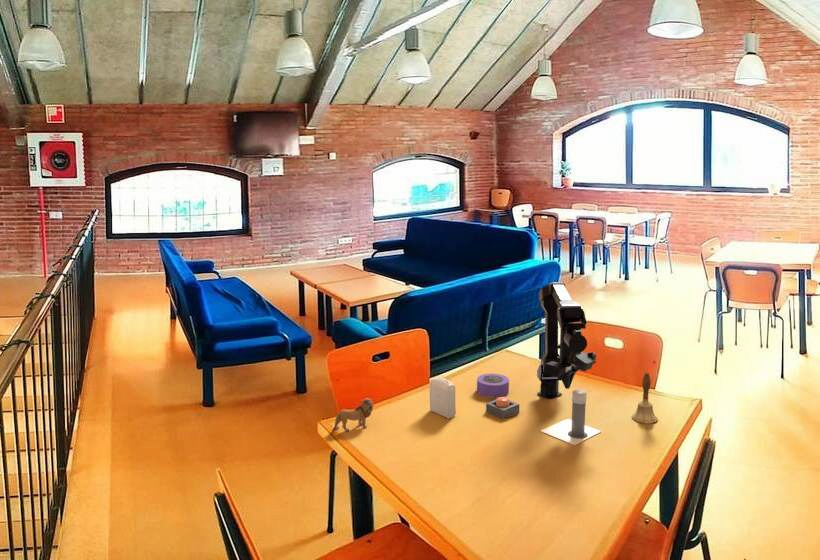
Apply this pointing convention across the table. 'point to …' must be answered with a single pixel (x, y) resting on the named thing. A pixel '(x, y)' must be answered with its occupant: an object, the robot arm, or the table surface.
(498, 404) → the button
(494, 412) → the button box
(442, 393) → the photo printer
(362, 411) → the lion figurine
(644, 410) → the hand bell
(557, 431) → the notepad
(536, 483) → the table surface
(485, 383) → the tape roll
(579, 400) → the marker
